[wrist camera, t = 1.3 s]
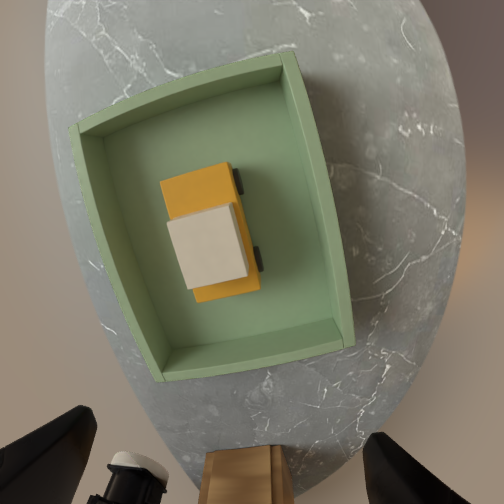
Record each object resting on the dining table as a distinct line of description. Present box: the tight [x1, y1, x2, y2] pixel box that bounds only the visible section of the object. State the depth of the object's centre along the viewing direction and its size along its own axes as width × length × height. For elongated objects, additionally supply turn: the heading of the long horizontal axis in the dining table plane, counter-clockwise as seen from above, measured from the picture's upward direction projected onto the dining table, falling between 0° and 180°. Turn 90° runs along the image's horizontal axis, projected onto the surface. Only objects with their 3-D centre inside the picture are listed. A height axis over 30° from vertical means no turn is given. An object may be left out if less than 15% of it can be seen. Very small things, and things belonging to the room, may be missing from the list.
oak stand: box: [198, 445, 294, 504], centre depth 22 cm, size 8×8×9 cm
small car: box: [160, 162, 264, 303], centre depth 16 cm, size 7×4×4 cm, turn 14°
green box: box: [68, 51, 356, 382], centre depth 17 cm, size 14×18×4 cm
